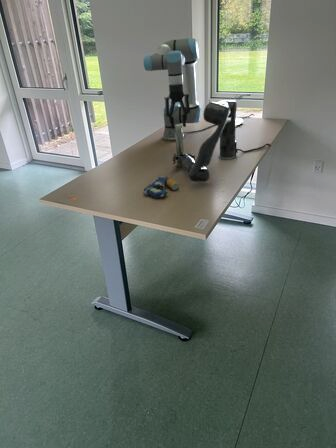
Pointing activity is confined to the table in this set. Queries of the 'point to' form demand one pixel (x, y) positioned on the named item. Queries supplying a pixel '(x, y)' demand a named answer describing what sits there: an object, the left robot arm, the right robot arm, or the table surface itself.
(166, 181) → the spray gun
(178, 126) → the cap
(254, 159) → the table surface
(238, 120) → the spoon
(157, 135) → the table surface
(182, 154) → the bottle
